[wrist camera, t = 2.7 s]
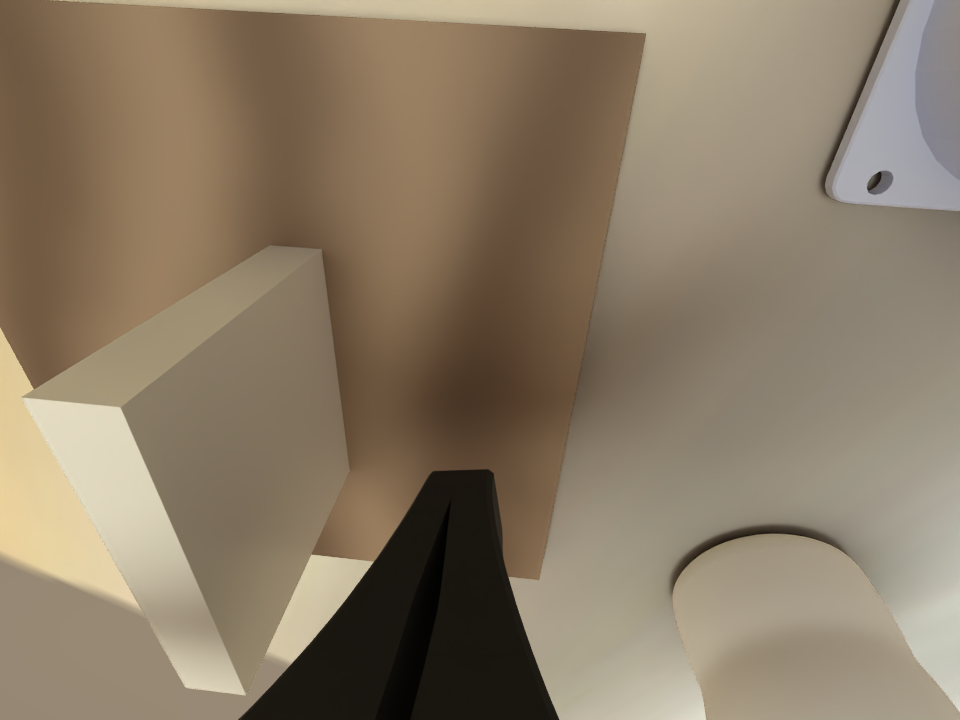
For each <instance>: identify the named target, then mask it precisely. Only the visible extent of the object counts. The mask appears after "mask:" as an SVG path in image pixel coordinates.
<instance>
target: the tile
mask: <svg viewBox="0 0 960 720" xmlns="http://www.w3.org/2000/svg"><path fill="white" fill-rule="evenodd" d="M21 399H22V400H23V402H24V404H25V406H26V407H27V409H28V411H29V413H30V414H31V416H32V418H33V420H34V421H35V423H36V425H37V427H38V428H39V430H40V432H41V434H42V435H43V437H44V439H45V441H46V443H47V444H48V446H49V448H50V450H51V451H52V453H53V455H54V457H55V458H56V460H57V462H58V464H59V465H60V467H61V469H62V471H63V472H64V474H65V476H66V478H67V480H68V481H69V483H70V485H71V487H72V488H73V490H74V492H75V494H76V495H77V497H78V499H79V501H80V502H81V504H82V506H83V508H84V509H85V511H86V513H87V515H88V517H89V518H90V520H91V522H92V524H93V525H94V527H95V529H96V531H97V532H98V534H99V536H100V538H101V539H102V541H103V543H104V545H105V546H106V548H107V550H108V552H109V554H110V555H111V557H112V559H113V561H114V562H115V564H116V566H117V568H118V569H119V571H120V573H121V575H122V576H123V578H124V580H125V582H126V583H127V585H128V587H129V589H130V591H131V592H132V594H133V596H134V598H135V599H136V601H137V603H138V605H139V606H140V608H141V610H142V612H143V613H144V615H145V617H146V619H147V620H148V622H149V624H150V626H151V627H152V629H153V631H154V633H155V635H156V636H157V638H158V640H159V642H160V643H161V645H162V647H163V649H164V650H165V652H166V654H167V656H168V657H169V659H170V661H171V663H172V664H173V666H174V668H175V670H176V672H177V673H178V675H179V677H180V679H181V680H182V682H183V684H184V686H185V687H186V688H193V689H201V690H209V691H216V692H225V693H232V694H240V695H247V692H248V690H249V688H250V686H251V684H252V682H253V679H254V677H255V675H256V673H257V671H258V669H259V666H260V664H261V662H262V660H263V658H264V656H265V653H266V651H267V649H268V647H269V645H270V643H271V640H272V638H273V636H274V634H275V632H276V630H277V627H278V625H279V623H280V621H281V619H282V617H283V614H284V612H285V610H286V608H287V606H288V604H289V601H290V599H291V597H292V595H293V593H294V591H295V588H296V586H297V584H298V582H299V580H300V578H301V575H302V573H303V571H304V569H305V567H306V565H307V562H308V560H309V558H310V556H311V554H312V552H313V549H314V547H315V545H316V543H317V541H318V539H319V536H320V534H321V532H322V530H323V528H324V526H325V523H326V521H327V519H328V517H329V515H330V513H331V510H332V508H333V506H334V504H335V502H336V500H337V497H338V495H339V493H340V491H341V489H342V487H343V484H344V482H345V480H346V478H347V476H348V474H349V471H350V469H349V461H348V453H347V445H346V437H345V429H344V422H343V414H342V406H341V398H340V390H339V382H338V374H337V367H336V359H335V351H334V343H333V335H332V327H331V319H330V312H329V304H328V296H327V288H326V280H325V272H324V264H323V257H322V249H311V248H299V247H286V246H274V245H270V246H268V247H266V248H265V249H263V250H261V251H260V252H258V253H256V254H255V255H253V256H252V257H250V258H248V259H247V260H245V261H243V262H242V263H240V264H238V265H237V266H235V267H234V268H232V269H230V270H229V271H227V272H225V273H224V274H222V275H220V276H219V277H217V278H216V279H214V280H212V281H211V282H209V283H207V284H206V285H204V286H202V287H201V288H199V289H198V290H196V291H194V292H193V293H191V294H189V295H188V296H186V297H185V298H183V299H181V300H180V301H178V302H176V303H175V304H173V305H171V306H170V307H168V308H167V309H165V310H163V311H162V312H160V313H158V314H157V315H155V316H153V317H152V318H150V319H149V320H147V321H145V322H144V323H142V324H140V325H139V326H137V327H135V328H134V329H132V330H131V331H129V332H127V333H126V334H124V335H122V336H121V337H119V338H117V339H116V340H114V341H113V342H111V343H109V344H108V345H106V346H104V347H103V348H101V349H99V350H98V351H96V352H95V353H93V354H91V355H90V356H88V357H86V358H85V359H83V360H81V361H80V362H78V363H77V364H75V365H73V366H72V367H70V368H68V369H67V370H65V371H63V372H62V373H60V374H59V375H57V376H55V377H54V378H52V379H50V380H49V381H47V382H45V383H44V384H42V385H41V386H39V387H37V388H36V389H34V390H32V391H31V392H29V393H28V394H26V395H24V396H23V397H21Z"/></svg>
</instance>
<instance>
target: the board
mask: <svg viewBox="0 0 960 720" xmlns="http://www.w3.org/2000/svg"><path fill="white" fill-rule="evenodd" d="M645 37H646V34H644V33H626V32H608V31H590V30H572V29H554V28H536V27H518V26H500V25H482V24H464V23H446V22H428V21H410V20H392V19H374V18H356V17H338V16H320V15H302V14H284V13H266V12H248V11H230V10H212V9H194V8H176V7H158V6H140V5H122V4H104V3H86V2H68V1H50V0H0V328H1V329H2V331H3V333H4V335H5V337H6V339H7V340H8V342H9V344H10V346H11V348H12V350H13V351H14V353H15V355H16V357H17V359H18V361H19V363H20V364H21V366H22V368H23V370H24V372H25V374H26V375H27V377H28V379H29V381H30V383H31V385H32V386H33V388H34V389H36V388H37V387H39V386H41V385H42V384H44V383H45V382H47V381H49V380H50V379H52V378H54V377H55V376H57V375H59V374H60V373H62V372H63V371H65V370H67V369H68V368H70V367H72V366H73V365H75V364H77V363H78V362H80V361H81V360H83V359H85V358H86V357H88V356H90V355H91V354H93V353H95V352H96V351H98V350H99V349H101V348H103V347H104V346H106V345H108V344H109V343H111V342H113V341H114V340H116V339H117V338H119V337H121V336H122V335H124V334H126V333H127V332H129V331H131V330H132V329H134V328H135V327H137V326H139V325H140V324H142V323H144V322H145V321H147V320H149V319H150V318H152V317H153V316H155V315H157V314H158V313H160V312H162V311H163V310H165V309H167V308H168V307H170V306H171V305H173V304H175V303H176V302H178V301H180V300H181V299H183V298H185V297H186V296H188V295H189V294H191V293H193V292H194V291H196V290H198V289H199V288H201V287H202V286H204V285H206V284H207V283H209V282H211V281H212V280H214V279H216V278H217V277H219V276H220V275H222V274H224V273H225V272H227V271H229V270H230V269H232V268H234V267H235V266H237V265H238V264H240V263H242V262H243V261H245V260H247V259H248V258H250V257H252V256H253V255H255V254H256V253H258V252H260V251H261V250H263V249H265V248H266V247H268V246H270V245H274V246H286V247H299V248H311V249H322V257H323V264H324V272H325V280H326V288H327V296H328V304H329V312H330V319H331V327H332V335H333V343H334V351H335V359H336V367H337V374H338V382H339V390H340V398H341V406H342V414H343V422H344V429H345V437H346V445H347V453H348V461H349V469H350V471H349V474H348V476H347V478H346V480H345V482H344V484H343V487H342V489H341V491H340V493H339V495H338V497H337V500H336V502H335V504H334V506H333V508H332V510H331V513H330V515H329V517H328V519H327V521H326V523H325V526H324V528H323V530H322V532H321V534H320V536H319V539H318V541H317V543H316V545H315V547H314V549H313V552H312V555H321V556H330V557H339V558H348V559H357V560H366V561H375V560H376V558H377V557H378V555H379V554H380V553H381V551H382V550H383V548H384V547H385V545H386V544H387V542H388V541H389V539H390V538H391V536H392V535H393V533H394V532H395V530H396V529H397V527H398V526H399V524H400V522H401V521H402V519H403V518H404V516H405V514H406V513H407V511H408V510H409V508H410V506H411V505H412V503H413V502H414V500H415V498H416V497H417V495H418V493H419V491H420V490H421V488H422V486H423V485H424V483H425V481H426V479H427V478H428V476H429V474H431V473H432V472H433V471H448V470H477V469H489V470H490V471H491V472H493V473H494V478H495V485H496V491H497V498H498V504H499V511H500V517H501V524H502V534H503V559H504V563H505V567H506V570H507V574H508V577H517V578H526V579H535V580H539V578H540V573H541V568H542V563H543V558H544V553H545V548H546V543H547V537H548V532H549V527H550V522H551V517H552V512H553V507H554V502H555V497H556V492H557V486H558V481H559V476H560V471H561V466H562V461H563V456H564V451H565V446H566V440H567V435H568V430H569V425H570V420H571V415H572V410H573V405H574V400H575V395H576V389H577V384H578V379H579V374H580V369H581V364H582V359H583V354H584V349H585V343H586V338H587V333H588V328H589V323H590V318H591V313H592V308H593V303H594V298H595V292H596V287H597V282H598V277H599V272H600V267H601V262H602V257H603V252H604V246H605V241H606V236H607V231H608V226H609V221H610V216H611V211H612V206H613V201H614V195H615V190H616V185H617V180H618V175H619V170H620V165H621V160H622V155H623V149H624V144H625V139H626V134H627V129H628V124H629V119H630V114H631V109H632V104H633V98H634V93H635V88H636V83H637V78H638V73H639V68H640V63H641V58H642V52H643V47H644V42H645Z"/></svg>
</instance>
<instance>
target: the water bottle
mask: <svg viewBox="0 0 960 720" xmlns="http://www.w3.org/2000/svg"><path fill="white" fill-rule="evenodd" d="M672 603H673V610H674V615H675V618H676V622H677V626H678V629H679V632H680V636H681V639H682V642H683V645H684V648H685V651H686V654H687V657H688V660H689V662H690V665H691V667H692V670H693V672H694V675H695V677H696V679H697V682H698V684H699V686H700V689H701V692H702V695H703V700H704V707H705V714H706V720H960V712H959V711H958V709H957V708H956V707H955V705H954V704H953V703H952V702H951V700H950V699H949V698H948V696H947V695H946V694H945V692H944V691H943V690H942V689H941V688H940V687H939V685H938V684H937V683H936V682H935V681H934V679H933V678H932V677H931V676H930V675H929V674H928V673H927V672H926V670H925V669H924V668H923V667H922V666H921V665H920V664H919V662H918V661H917V660H916V658H915V657H914V655H913V653H912V651H911V649H910V648H909V646H908V644H907V642H906V640H905V638H904V636H903V634H902V632H901V630H900V628H899V626H898V625H897V623H896V621H895V620H894V618H893V616H892V615H891V613H890V611H889V610H888V608H887V607H886V605H885V603H884V602H883V600H882V599H881V597H880V596H879V594H878V593H877V591H876V590H875V588H874V587H873V585H872V584H871V583H870V581H869V580H868V578H867V577H866V576H865V574H864V573H863V572H862V570H861V569H860V568H859V566H858V565H857V564H856V563H855V562H854V561H853V560H852V559H851V558H850V557H849V556H847V555H846V554H845V553H843V552H842V551H840V550H839V549H837V548H835V547H833V546H831V545H829V544H827V543H824V542H821V541H818V540H815V539H812V538H807V537H803V536H797V535H790V534H759V535H752V536H746V537H741V538H737V539H733V540H730V541H727V542H724V543H722V544H719V545H717V546H715V547H713V548H711V549H709V550H707V551H705V552H704V553H702V554H701V555H699V556H698V557H696V558H695V559H694V560H693V561H692V562H691V563H690V564H689V565H688V566H687V567H686V568H685V569H684V570H683V571H682V573H681V574H680V576H679V578H678V579H677V581H676V583H675V586H674V589H673V594H672Z"/></svg>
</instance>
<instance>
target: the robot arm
mask: <svg viewBox="0 0 960 720" xmlns="http://www.w3.org/2000/svg"><path fill="white" fill-rule="evenodd" d="M879 171H880V172H881V174H882V176H881V181H880V182H879V184H878V185H877V186H876V187H875V188H873V189H872V190H870V191H868V190H867V184H868V181H869V180H870V178H871V177H872V176H873V175H875V174H876V173H878V172H879ZM825 189H826V193H827V194H828V195H829V196H830V197H831V198H832V199H835V200H837V201H840V202H844V203H850V204H864V205H878V206H892V207H906V208H921V209H935V210H949V211H960V0H900V2H899V5H898V7H897V10H896V12H895V14H894V17H893V19H892V22H891V24H890V26H889V29H888V31H887V34H886V36H885V38H884V41H883V43H882V46H881V48H880V50H879V53H878V55H877V58H876V60H875V62H874V65H873V67H872V70H871V72H870V74H869V77H868V79H867V82H866V84H865V86H864V89H863V91H862V94H861V96H860V98H859V101H858V103H857V106H856V108H855V110H854V113H853V115H852V118H851V120H850V122H849V125H848V127H847V130H846V132H845V134H844V137H843V139H842V142H841V144H840V146H839V149H838V151H837V154H836V156H835V158H834V161H833V163H832V166H831V168H830V170H829V173H828V175H827V178H826V183H825ZM238 720H559V718H558V716H557V713H556V711H555V708H554V706H553V704H552V701H551V699H550V696H549V694H548V691H547V689H546V686H545V684H544V681H543V678H542V676H541V673H540V671H539V668H538V665H537V663H536V660H535V657H534V655H533V652H532V649H531V646H530V643H529V641H528V638H527V635H526V632H525V629H524V626H523V623H522V620H521V617H520V614H519V611H518V608H517V605H516V602H515V598H514V595H513V591H512V588H511V585H510V581H509V578H508V574H507V570H506V567H505V563H504V559H503V534H502V524H501V517H500V511H499V504H498V498H497V491H496V485H495V478H494V473H493V472H491V471H490V470H489V469H477V470H448V471H433V472H432V473H431V474H429V476H428V478H427V479H426V481H425V483H424V485H423V486H422V488H421V490H420V491H419V493H418V495H417V497H416V498H415V500H414V502H413V503H412V505H411V506H410V508H409V510H408V511H407V513H406V514H405V516H404V518H403V519H402V521H401V522H400V524H399V526H398V527H397V529H396V530H395V532H394V533H393V535H392V536H391V538H390V539H389V541H388V542H387V544H386V545H385V547H384V548H383V550H382V551H381V553H380V554H379V555H378V557H377V558H376V560H375V561H374V563H373V564H372V565H371V567H370V568H369V569H368V571H367V572H366V573H365V575H364V576H363V578H362V579H361V580H360V582H359V583H358V584H357V586H356V587H355V588H354V590H353V591H352V592H351V594H350V595H349V596H348V598H347V599H346V600H345V602H344V603H343V604H342V605H341V607H340V608H339V609H338V610H337V612H336V613H335V614H334V615H333V617H332V618H331V619H330V620H329V621H328V623H327V624H326V625H325V626H324V628H323V629H322V630H321V631H320V632H319V633H318V635H317V636H316V637H315V638H314V639H313V640H312V642H311V643H310V644H309V645H308V646H307V647H306V649H305V650H304V651H303V652H302V653H301V654H300V655H299V656H298V657H297V659H296V660H295V661H294V662H293V663H292V664H291V665H290V666H289V667H288V668H287V669H286V671H285V672H284V673H283V674H282V675H281V676H280V677H279V678H278V679H277V681H276V682H275V683H274V684H273V685H272V686H271V687H270V688H269V689H268V690H267V691H266V692H265V693H264V694H263V695H262V696H261V698H259V699H258V701H257V702H256V703H255V704H254V705H253V706H252V707H251V708H250V709H249V710H248V711H247V712H246V713H245V714H244V715H243V716H242V717H241V718H239V719H238Z"/></svg>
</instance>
